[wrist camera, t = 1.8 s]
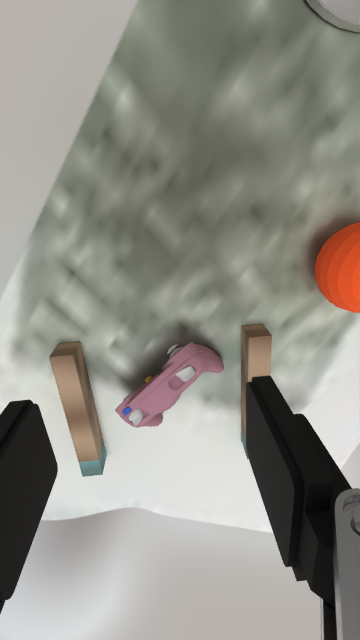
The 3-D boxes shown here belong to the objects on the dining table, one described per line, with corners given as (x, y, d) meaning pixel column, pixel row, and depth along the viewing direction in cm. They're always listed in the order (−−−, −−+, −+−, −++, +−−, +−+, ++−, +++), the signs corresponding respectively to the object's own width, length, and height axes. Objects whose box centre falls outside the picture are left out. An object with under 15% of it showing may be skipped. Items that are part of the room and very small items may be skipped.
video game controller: (198, 327, 30) (179, 335, 23) (229, 363, 29) (219, 381, 23) (131, 389, 32) (96, 412, 26) (159, 423, 32) (130, 456, 25)
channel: (58, 343, 28) (49, 357, 26) (262, 323, 28) (271, 335, 26) (88, 457, 33) (82, 476, 31) (259, 438, 34) (266, 456, 32)
